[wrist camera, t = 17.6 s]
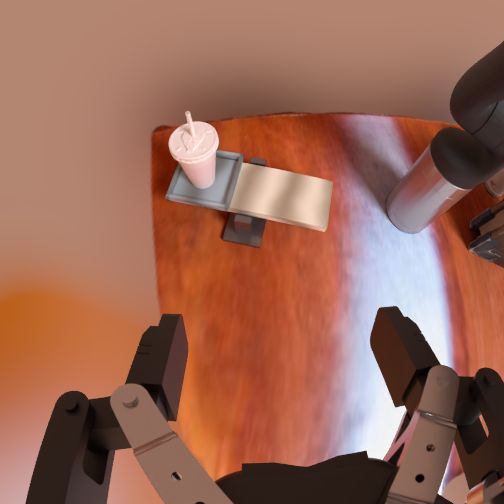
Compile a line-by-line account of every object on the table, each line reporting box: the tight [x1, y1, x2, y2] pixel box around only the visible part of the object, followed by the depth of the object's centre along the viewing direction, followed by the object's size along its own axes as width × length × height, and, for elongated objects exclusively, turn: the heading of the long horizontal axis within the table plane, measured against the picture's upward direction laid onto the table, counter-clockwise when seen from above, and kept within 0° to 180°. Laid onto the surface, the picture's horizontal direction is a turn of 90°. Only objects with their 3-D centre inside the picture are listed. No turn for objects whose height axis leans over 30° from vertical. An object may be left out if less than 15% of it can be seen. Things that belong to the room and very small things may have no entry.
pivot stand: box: [223, 157, 267, 248], centre depth 48 cm, size 6×14×6 cm, turn 167°
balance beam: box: [166, 150, 333, 232], centre depth 44 cm, size 24×10×3 cm, turn 77°
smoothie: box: [169, 111, 219, 189], centre depth 38 cm, size 6×6×14 cm
